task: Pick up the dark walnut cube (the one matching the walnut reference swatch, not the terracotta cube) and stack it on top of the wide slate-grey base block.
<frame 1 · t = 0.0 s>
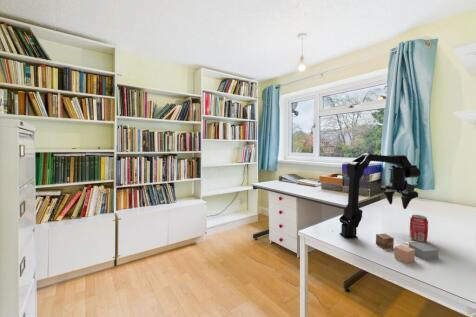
hand: (397, 206, 118), 15 cm above the table, fingers open, 9 cm apart
terracotta cube: (404, 259, 92), on the table
walnut cube: (384, 246, 104), on the table
soda can: (418, 240, 110), on the table, touching reference swatch
slate base: (423, 255, 96), on the table
reference swatch: (416, 245, 104), on the table
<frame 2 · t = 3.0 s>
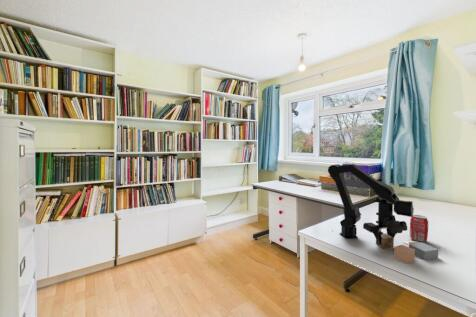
hand: (384, 243, 104), 1 cm above the table, fingers closed on walnut cube, 5 cm apart
walnut cube: (384, 245, 104), on the table, touching gripper
everything else where it was.
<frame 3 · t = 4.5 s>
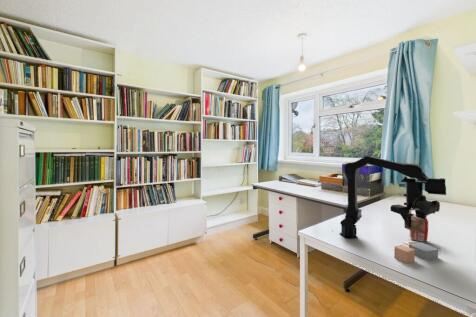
hand: (414, 227, 97), 12 cm above the table, fingers closed on walnut cube, 5 cm apart
walnut cube: (414, 229, 97), point 11 cm above the table, touching gripper
everything else where it was.
when the fingers open (6 cm above the table, at t = 6.0 s): walnut cube drops 1 cm, resting on slate base.
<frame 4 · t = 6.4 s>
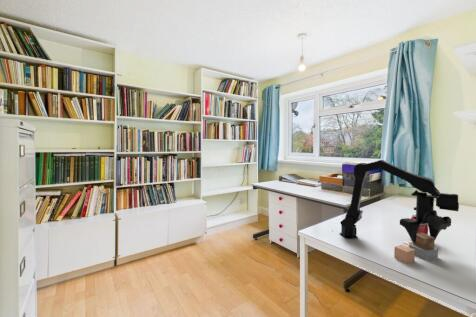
hand: (423, 241, 95), 6 cm above the table, fingers open, 9 cm apart
walnut cube: (423, 246, 95), point 4 cm above the table, touching slate base
slate base: (422, 255, 96), on the table, touching walnut cube
everything else where it was.
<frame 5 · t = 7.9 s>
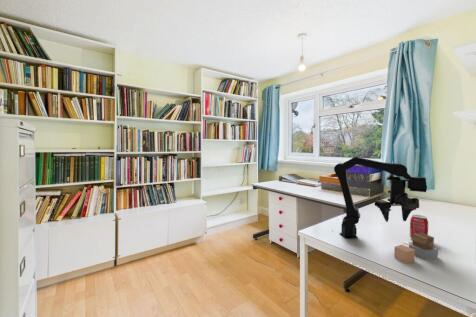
hand: (395, 221, 105), 11 cm above the table, fingers open, 9 cm apart
nothing on the table moved.
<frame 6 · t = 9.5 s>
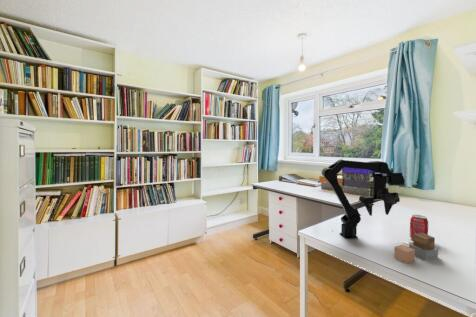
hand: (378, 215, 113), 12 cm above the table, fingers open, 9 cm apart
nothing on the table moved.
at the end: walnut cube 0.4 cm off-centre on the slate base, point 4.0 cm above the slate base's base; walnut cube tilted 0°; the gripper is holding nothing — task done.
